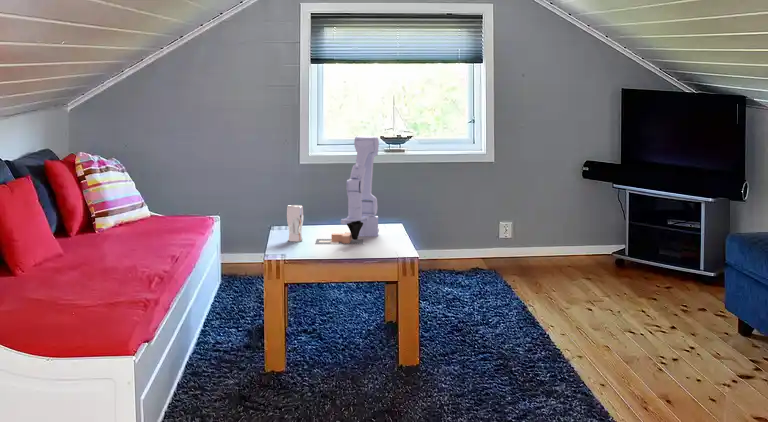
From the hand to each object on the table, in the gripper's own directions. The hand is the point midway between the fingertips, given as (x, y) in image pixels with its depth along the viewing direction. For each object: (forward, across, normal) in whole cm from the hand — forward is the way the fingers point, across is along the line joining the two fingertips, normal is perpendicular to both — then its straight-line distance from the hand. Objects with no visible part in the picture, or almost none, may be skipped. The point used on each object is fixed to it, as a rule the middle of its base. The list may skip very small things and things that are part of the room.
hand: (354, 239), depth 315 cm
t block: (+1, +3, -5) cm, 6 cm away
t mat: (+1, +4, -5) cm, 7 cm away
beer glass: (+2, +15, -21) cm, 26 cm away
